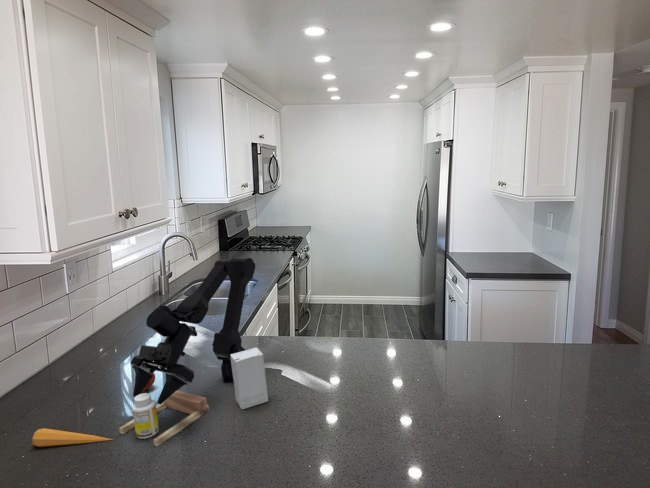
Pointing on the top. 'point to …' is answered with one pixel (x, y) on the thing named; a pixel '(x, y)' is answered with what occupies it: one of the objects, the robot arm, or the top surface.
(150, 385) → the red round piece
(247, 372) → the skincare box
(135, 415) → the supplement bottle
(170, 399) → the rail track
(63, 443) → the carrot
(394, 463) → the top surface
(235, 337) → the robot arm
